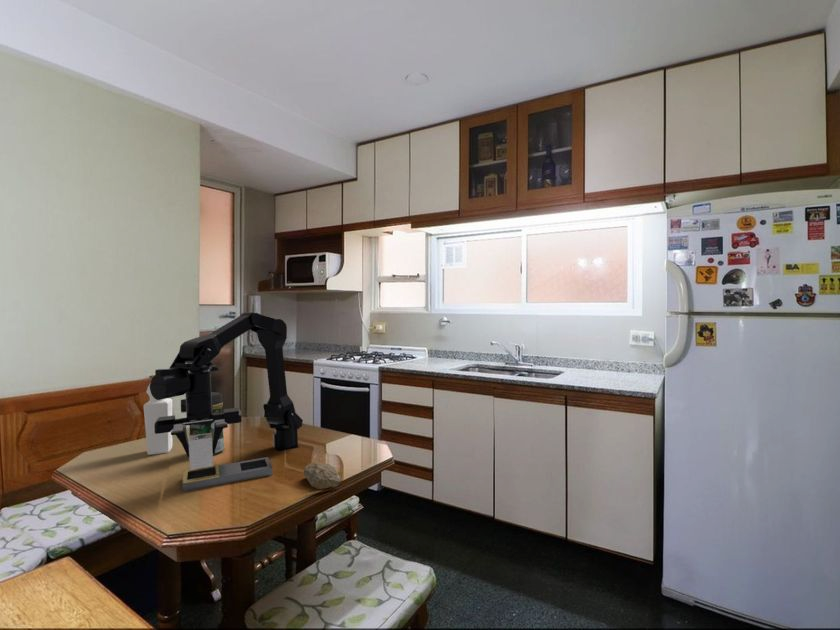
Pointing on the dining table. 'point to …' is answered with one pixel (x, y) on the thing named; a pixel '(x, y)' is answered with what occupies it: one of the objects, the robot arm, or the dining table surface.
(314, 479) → the rock
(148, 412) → the white bottle
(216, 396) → the coffee jar
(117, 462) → the dining table surface
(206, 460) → the square slider block
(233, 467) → the grey socket board
